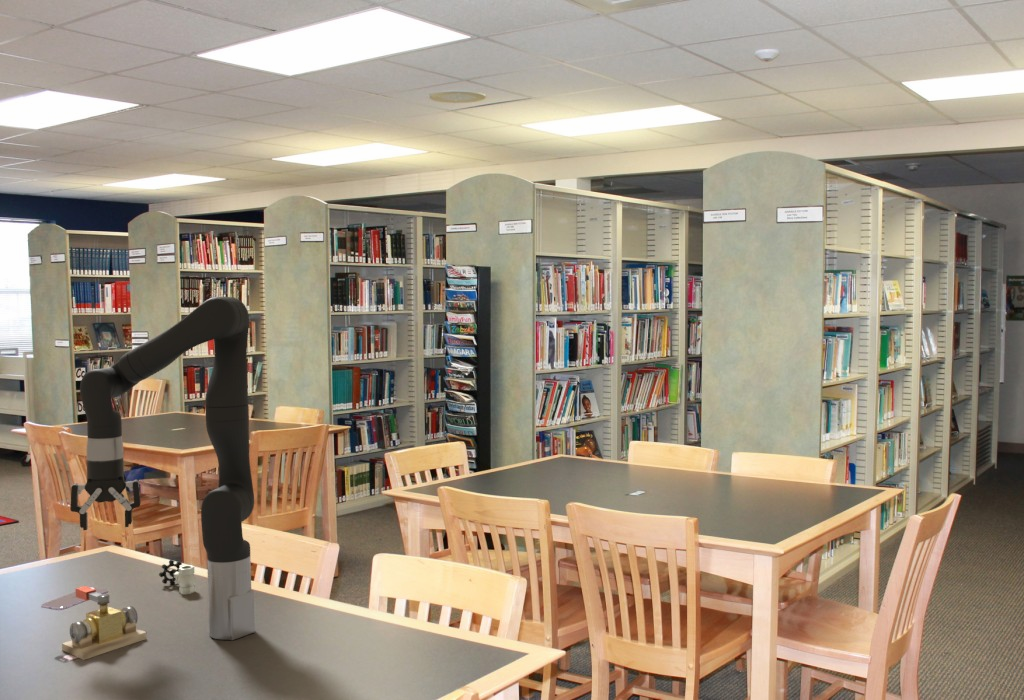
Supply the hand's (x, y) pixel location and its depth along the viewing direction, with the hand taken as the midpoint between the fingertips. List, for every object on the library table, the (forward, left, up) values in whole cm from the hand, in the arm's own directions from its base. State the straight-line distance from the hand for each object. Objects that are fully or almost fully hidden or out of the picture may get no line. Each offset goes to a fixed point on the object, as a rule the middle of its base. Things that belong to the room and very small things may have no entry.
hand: (106, 527), depth 198 cm
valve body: (-7, +5, -22) cm, 24 cm away
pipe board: (-7, +5, -24) cm, 25 cm away
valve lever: (-3, +5, -15) cm, 16 cm away
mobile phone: (+29, -7, -24) cm, 38 cm away
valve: (+14, -27, -24) cm, 38 cm away
